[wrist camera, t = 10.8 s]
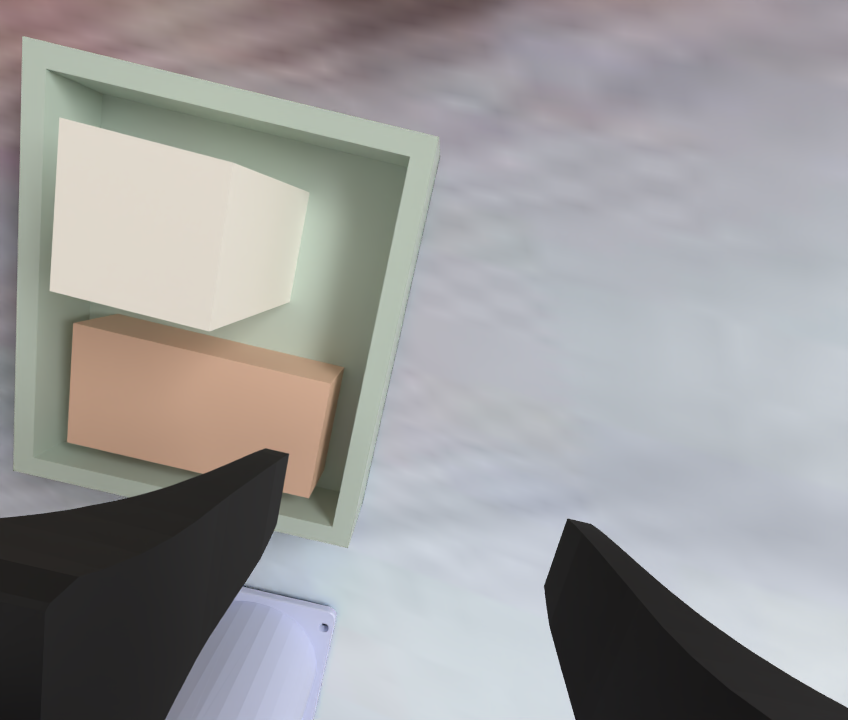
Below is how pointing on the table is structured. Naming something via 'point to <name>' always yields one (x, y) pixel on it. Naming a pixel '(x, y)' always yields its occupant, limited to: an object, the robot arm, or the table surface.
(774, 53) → the table surface
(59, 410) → the tote
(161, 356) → the cracker box
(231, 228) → the carton
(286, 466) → the robot arm
